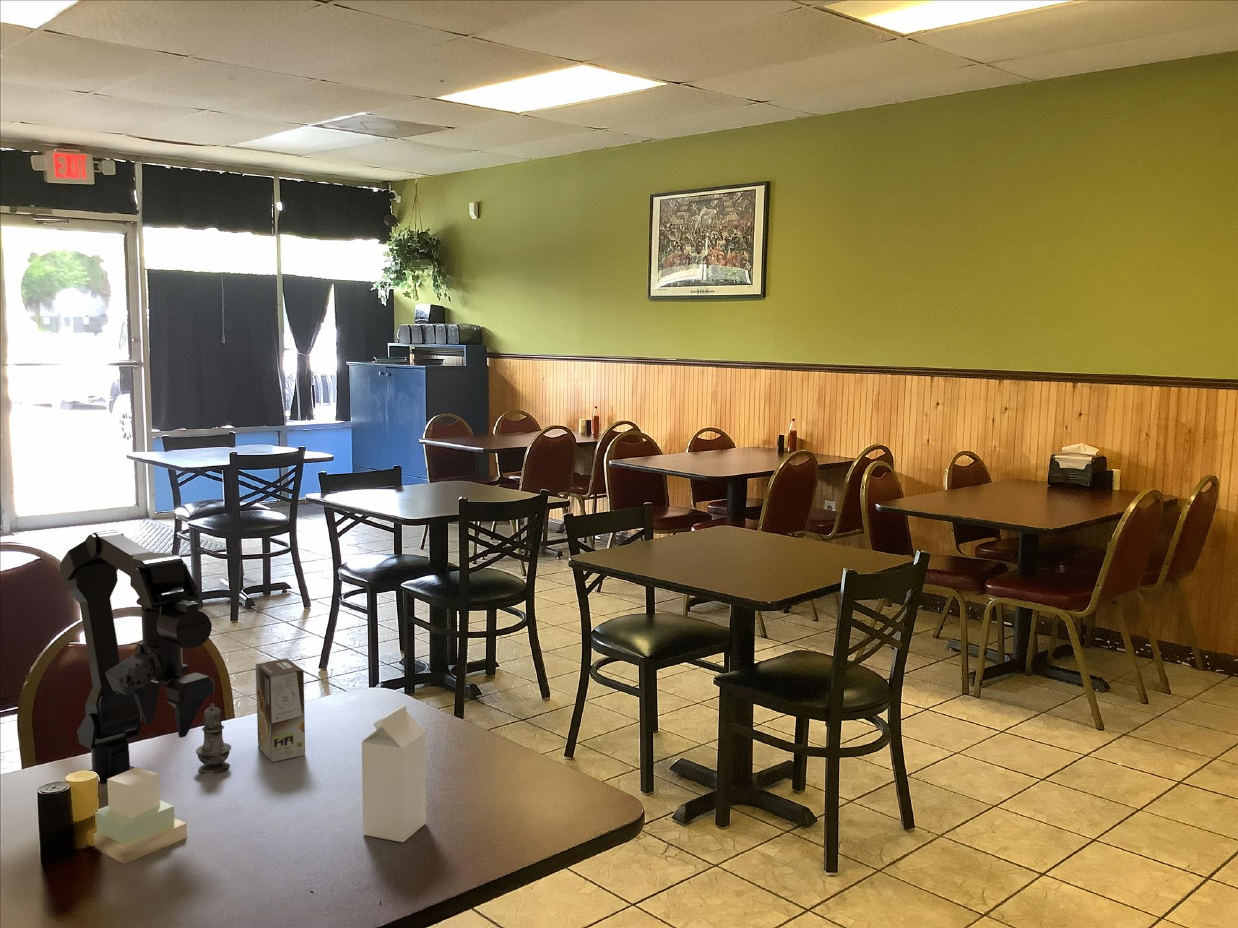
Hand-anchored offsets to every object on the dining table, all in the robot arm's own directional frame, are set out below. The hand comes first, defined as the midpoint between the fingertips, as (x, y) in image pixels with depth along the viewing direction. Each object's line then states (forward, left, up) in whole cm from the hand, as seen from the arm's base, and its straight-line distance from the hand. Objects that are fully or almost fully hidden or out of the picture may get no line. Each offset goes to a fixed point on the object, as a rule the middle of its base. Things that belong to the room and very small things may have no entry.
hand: (165, 730), depth 167 cm
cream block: (+6, -9, -8) cm, 14 cm away
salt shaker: (-8, +14, -13) cm, 21 cm away
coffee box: (-5, +26, -13) cm, 30 cm away
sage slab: (+6, -9, -11) cm, 16 cm away
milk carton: (+35, +16, -13) cm, 41 cm away
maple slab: (+6, -9, -14) cm, 18 cm away
